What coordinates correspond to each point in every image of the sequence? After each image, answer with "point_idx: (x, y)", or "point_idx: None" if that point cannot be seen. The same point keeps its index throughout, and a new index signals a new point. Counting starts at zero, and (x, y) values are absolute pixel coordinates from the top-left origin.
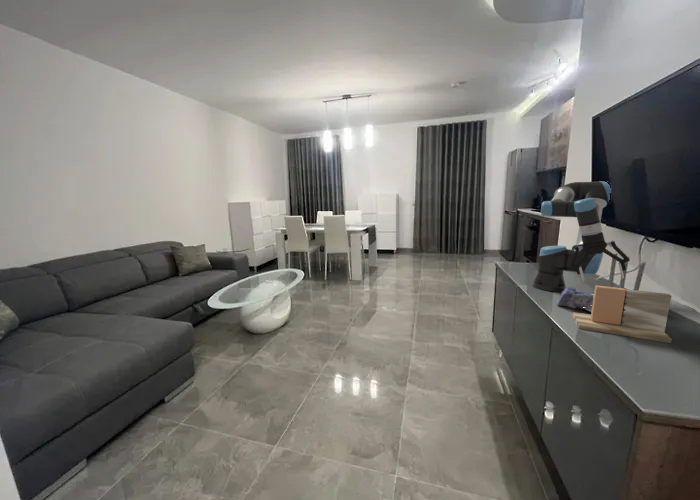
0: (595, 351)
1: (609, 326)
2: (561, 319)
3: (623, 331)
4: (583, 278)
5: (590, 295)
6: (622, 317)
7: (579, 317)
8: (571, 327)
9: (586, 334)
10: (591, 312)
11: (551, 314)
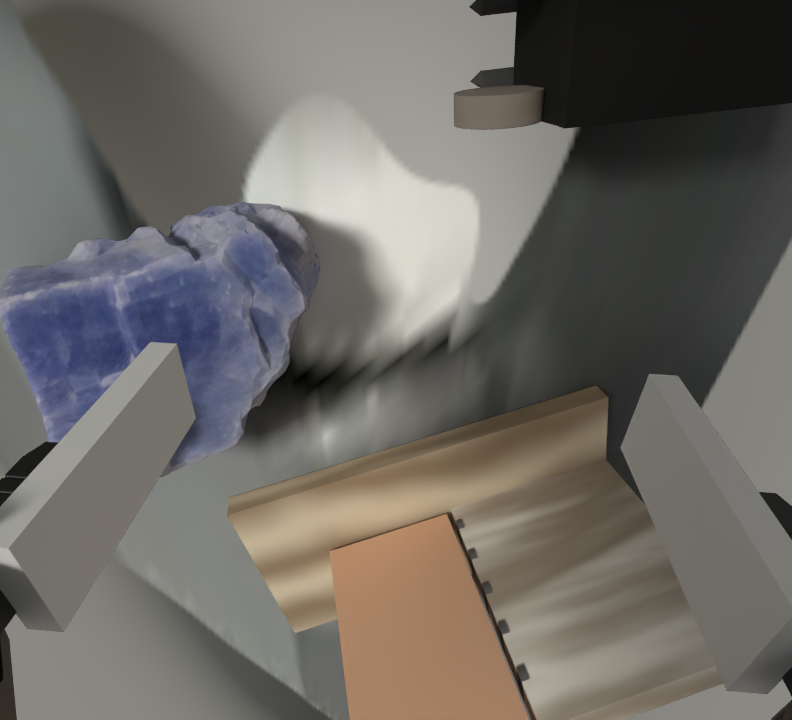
0: None
1: None
2: (202, 581)
3: None
4: (174, 452)
5: (286, 332)
6: (470, 565)
7: (278, 561)
8: (267, 624)
9: (330, 639)
10: (333, 585)
11: (130, 558)
